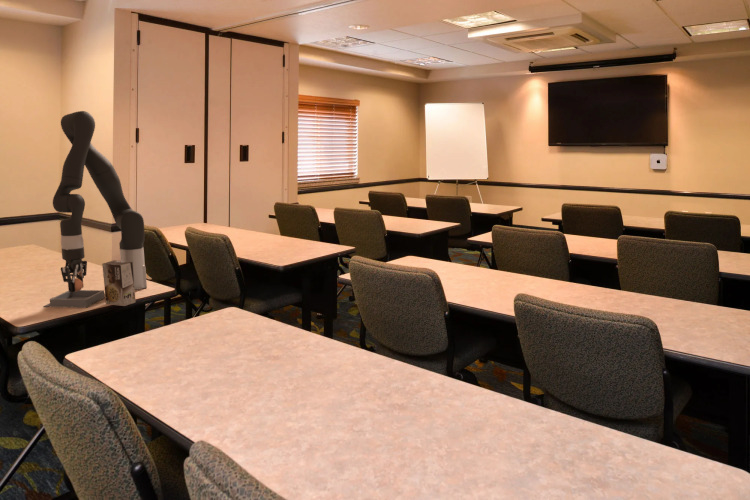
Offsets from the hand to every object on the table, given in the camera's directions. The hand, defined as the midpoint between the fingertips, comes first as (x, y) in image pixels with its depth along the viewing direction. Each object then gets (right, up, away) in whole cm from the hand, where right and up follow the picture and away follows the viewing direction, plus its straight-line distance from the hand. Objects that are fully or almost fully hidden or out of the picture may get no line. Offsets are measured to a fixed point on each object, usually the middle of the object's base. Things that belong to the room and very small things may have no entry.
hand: (76, 289), depth 213 cm
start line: (-8, -5, +1) cm, 9 cm away
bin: (0, -5, +1) cm, 5 cm away
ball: (0, +2, 0) cm, 2 cm away
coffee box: (+17, -5, +1) cm, 18 cm away
